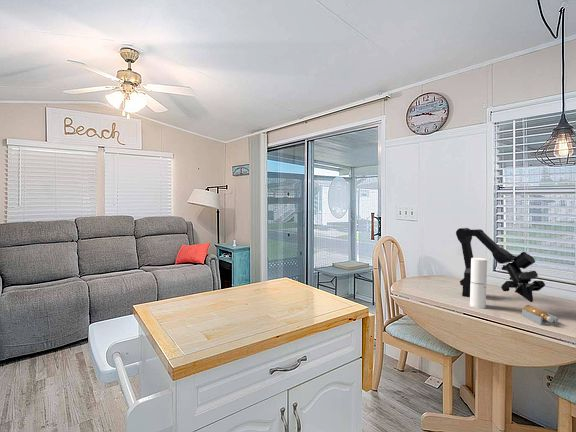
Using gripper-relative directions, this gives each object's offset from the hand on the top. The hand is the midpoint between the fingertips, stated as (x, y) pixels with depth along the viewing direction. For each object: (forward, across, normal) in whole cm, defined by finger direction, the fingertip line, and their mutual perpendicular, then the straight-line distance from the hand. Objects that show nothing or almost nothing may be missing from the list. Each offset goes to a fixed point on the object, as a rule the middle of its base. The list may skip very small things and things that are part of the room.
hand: (531, 301), depth 155 cm
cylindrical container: (-6, -16, +16) cm, 24 cm away
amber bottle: (+2, 0, +4) cm, 5 cm away
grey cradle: (+8, 0, +2) cm, 9 cm away
